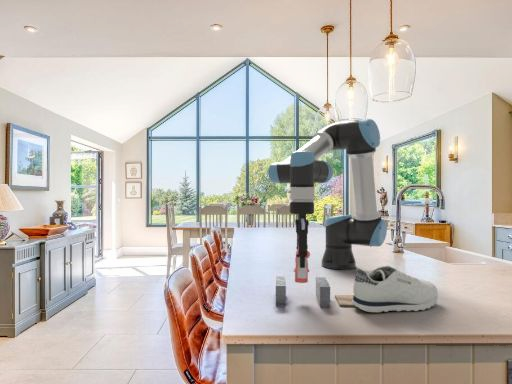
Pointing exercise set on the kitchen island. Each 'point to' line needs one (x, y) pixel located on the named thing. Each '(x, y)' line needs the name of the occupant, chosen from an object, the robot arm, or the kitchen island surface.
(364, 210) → the robot arm
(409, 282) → the running shoe
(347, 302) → the pad
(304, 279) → the figurine
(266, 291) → the kitchen island surface
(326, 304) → the grey blocks
